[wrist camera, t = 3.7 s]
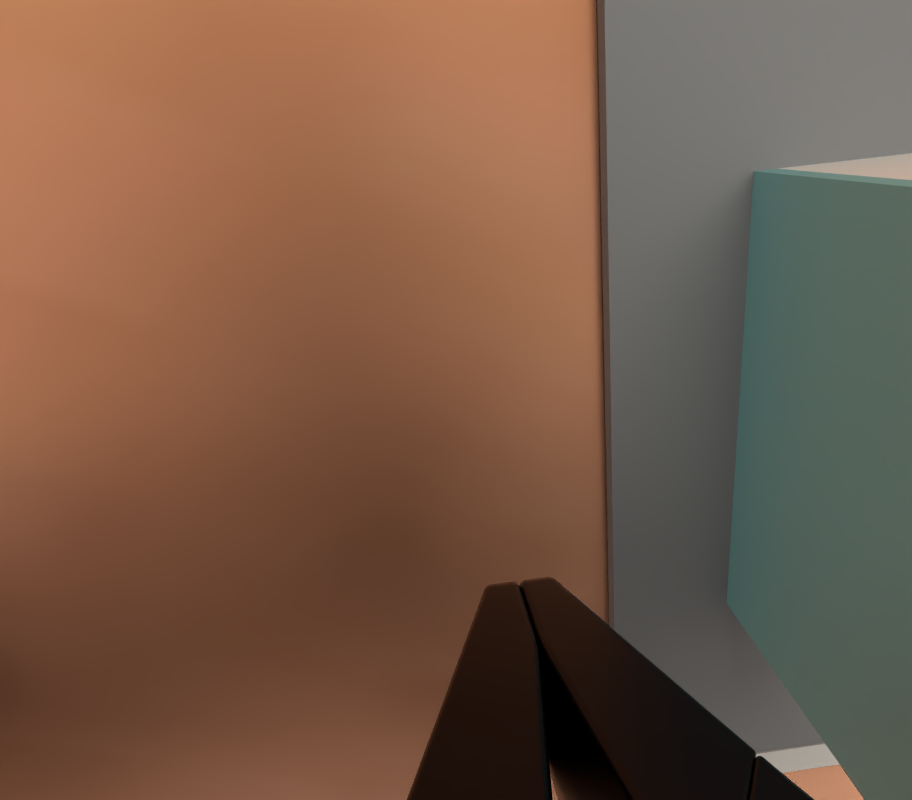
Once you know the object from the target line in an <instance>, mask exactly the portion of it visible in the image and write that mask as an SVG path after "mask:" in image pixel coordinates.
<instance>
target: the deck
mask: <svg viewBox="0 0 912 800" xmlns="http://www.w3.org/2000/svg"><path fill="white" fill-rule="evenodd" d="M727 605H728V606H729V608H730V609H731V610H732V612H733V613H734V615H735V616H736V617H737V619H738V620H739V622H740V623H741V625H742V626H743V627H744V629H745V630H746V632H747V633H748V635H749V636H750V637H751V639H752V640H753V642H754V643H755V645H756V646H757V647H758V649H759V650H760V652H761V653H762V654H763V656H764V657H765V659H766V660H767V662H768V663H769V664H770V666H771V667H772V669H773V670H774V672H775V673H776V674H777V676H778V677H779V679H780V680H781V682H782V683H783V684H784V686H785V687H786V689H787V690H788V691H789V693H790V694H791V696H792V697H793V699H794V700H795V701H796V703H797V704H798V706H799V707H800V709H801V710H802V711H803V713H804V714H805V716H806V717H807V719H808V720H809V721H810V723H811V724H812V726H813V727H814V728H815V730H816V731H817V733H818V734H819V736H820V737H821V738H822V740H823V741H824V743H825V744H826V746H827V747H828V748H829V750H830V751H831V753H832V754H833V756H834V757H835V758H836V760H837V761H838V763H839V764H840V765H841V767H842V768H843V770H844V771H845V773H846V774H847V775H848V777H849V778H850V780H851V781H852V783H853V784H854V785H855V787H856V788H857V790H858V791H859V793H860V794H861V795H862V797H863V798H864V800H912V153H909V154H901V155H892V156H883V157H875V158H866V159H857V160H848V161H840V162H831V163H822V164H813V165H805V166H796V167H787V168H778V169H770V170H761V171H754V174H753V190H752V206H751V222H750V238H749V254H748V270H747V286H746V302H745V318H744V334H743V350H742V366H741V382H740V398H739V414H738V430H737V446H736V462H735V478H734V494H733V510H732V526H731V542H730V558H729V574H728V590H727Z"/></svg>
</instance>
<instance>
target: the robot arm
mask: <svg viewBox="0 0 912 800" xmlns="http://www.w3.org/2000/svg"><path fill="white" fill-rule="evenodd" d="M550 773H551V777H552V780H553V784H554V787H555V791H556V794H557V797H558V800H814V799H813V798H811V797H810V796H809V795H808V794H807V793H805V792H804V791H803V790H802V789H800V788H799V787H798V786H797V785H796V784H794V783H793V782H792V781H791V780H790V779H788V778H787V777H786V776H785V775H784V774H782V773H781V772H780V771H779V770H778V769H777V768H775V767H774V766H773V765H772V764H771V763H770V762H768V761H767V760H766V759H765V758H764V757H762V756H757V757H756V752H755V750H754V749H753V748H752V747H750V746H749V745H748V744H747V743H746V742H745V741H743V740H742V739H741V738H740V737H739V736H738V735H736V734H735V733H734V732H733V731H732V730H731V729H729V728H728V727H727V726H726V725H725V724H723V723H722V722H721V721H720V720H719V719H718V718H716V717H715V716H714V715H713V714H712V713H711V712H709V711H708V710H707V709H706V708H705V707H704V706H702V705H701V704H700V703H699V702H698V701H697V700H695V699H694V698H693V697H692V696H691V695H690V694H688V693H687V692H686V691H685V690H684V689H683V688H681V687H680V686H679V685H678V684H677V683H675V682H674V681H673V680H672V679H671V678H670V677H668V676H667V675H666V674H665V673H664V672H663V671H661V670H660V669H659V668H658V667H657V666H656V665H654V664H653V663H652V662H651V661H650V660H649V659H647V658H646V657H645V656H644V655H643V654H642V653H640V652H639V651H638V650H637V649H636V648H635V647H633V646H632V645H631V644H630V643H629V642H628V641H626V640H625V639H624V638H623V637H622V636H620V635H619V634H618V633H617V632H616V631H615V630H613V629H612V628H611V627H610V626H609V625H608V624H606V623H605V622H604V621H603V620H602V619H601V618H599V617H598V616H597V615H596V614H595V613H594V612H592V611H591V610H590V609H589V608H588V607H587V606H585V605H584V604H583V603H582V602H581V601H580V600H578V599H577V598H576V597H575V596H574V595H573V594H571V593H570V592H569V591H568V590H567V589H565V588H564V587H563V586H562V585H561V584H560V583H558V582H557V581H556V580H555V579H553V578H551V577H545V578H538V579H530V580H524V581H522V582H521V584H520V586H519V585H518V583H516V582H508V583H500V584H493V585H488V586H487V587H486V588H485V590H484V592H483V595H482V598H481V601H480V603H479V606H478V609H477V611H476V614H475V617H474V619H473V622H472V625H471V628H470V630H469V633H468V636H467V638H466V641H465V644H464V646H463V649H462V652H461V655H460V657H459V660H458V663H457V665H456V668H455V671H454V674H453V676H452V679H451V682H450V684H449V687H448V690H447V692H446V695H445V698H444V701H443V703H442V706H441V709H440V711H439V714H438V717H437V720H436V722H435V725H434V728H433V730H432V733H431V736H430V738H429V741H428V744H427V747H426V749H425V752H424V755H423V757H422V760H421V763H420V766H419V768H418V771H417V774H416V776H415V779H414V782H413V784H412V787H411V790H410V793H409V795H408V798H407V800H552V789H551V777H550Z"/></svg>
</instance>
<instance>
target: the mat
mask: <svg viewBox="0 0 912 800" xmlns="http://www.w3.org/2000/svg"><path fill="white" fill-rule="evenodd" d="M597 17H598V69H599V121H600V172H601V224H602V276H603V327H604V379H605V431H606V482H607V534H608V585H609V626H610V627H611V628H612V629H613V630H615V631H616V632H617V633H618V634H619V635H620V636H622V637H623V638H624V639H625V640H626V641H628V642H629V643H630V644H631V645H632V646H633V647H635V648H636V649H637V650H638V651H639V652H640V653H642V654H643V655H644V656H645V657H646V658H647V659H649V660H650V661H651V662H652V663H653V664H654V665H656V666H657V667H658V668H659V669H660V670H661V671H663V672H664V673H665V674H666V675H667V676H668V677H670V678H671V679H672V680H673V681H674V682H675V683H677V684H678V685H679V686H680V687H681V688H683V689H684V690H685V691H686V692H687V693H688V694H690V695H691V696H692V697H693V698H694V699H695V700H697V701H698V702H699V703H700V704H701V705H702V706H704V707H705V708H706V709H707V710H708V711H709V712H711V713H712V714H713V715H714V716H715V717H716V718H718V719H719V720H720V721H721V722H722V723H723V724H725V725H726V726H727V727H728V728H729V729H731V730H732V731H733V732H734V733H735V734H736V735H738V736H739V737H740V738H741V739H742V740H743V741H745V742H746V743H747V744H748V745H749V746H750V747H752V748H753V749H754V750H755V752H756V757H757V756H762V757H764V758H765V759H766V760H767V761H768V762H770V763H771V764H772V765H773V766H774V767H775V768H777V769H778V770H779V771H780V772H781V773H786V772H792V771H799V770H806V769H813V768H819V767H826V766H833V765H839V763H838V761H837V760H836V758H835V757H834V756H833V754H832V753H831V751H830V750H829V748H828V747H827V746H826V744H825V743H824V741H823V740H822V738H821V737H820V736H819V734H818V733H817V731H816V730H815V728H814V727H813V726H812V724H811V723H810V721H809V720H808V719H807V717H806V716H805V714H804V713H803V711H802V710H801V709H800V707H799V706H798V704H797V703H796V701H795V700H794V699H793V697H792V696H791V694H790V693H789V691H788V690H787V689H786V687H785V686H784V684H783V683H782V682H781V680H780V679H779V677H778V676H777V674H776V673H775V672H774V670H773V669H772V667H771V666H770V664H769V663H768V662H767V660H766V659H765V657H764V656H763V654H762V653H761V652H760V650H759V649H758V647H757V646H756V645H755V643H754V642H753V640H752V639H751V637H750V636H749V635H748V633H747V632H746V630H745V629H744V627H743V626H742V625H741V623H740V622H739V620H738V619H737V617H736V616H735V615H734V613H733V612H732V610H731V609H730V608H729V606H728V605H727V590H728V574H729V558H730V542H731V526H732V510H733V494H734V478H735V462H736V446H737V430H738V414H739V398H740V382H741V366H742V350H743V334H744V318H745V302H746V286H747V270H748V254H749V238H750V222H751V206H752V190H753V174H754V171H761V170H770V169H778V168H787V167H796V166H805V165H813V164H822V163H831V162H840V161H848V160H857V159H866V158H875V157H883V156H892V155H901V154H909V153H912V0H597Z"/></svg>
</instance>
